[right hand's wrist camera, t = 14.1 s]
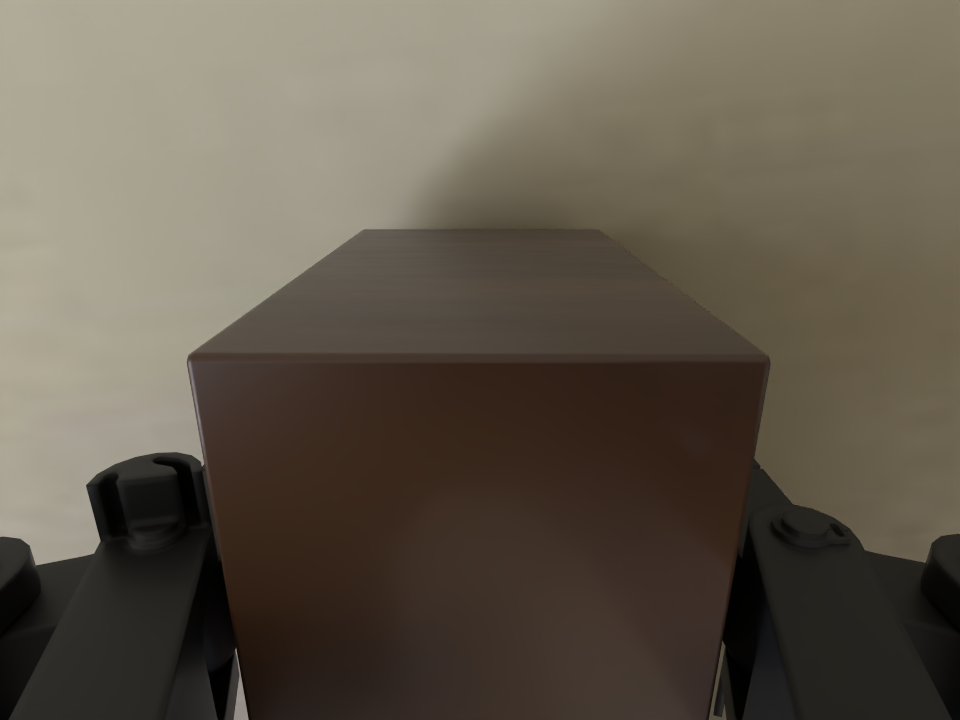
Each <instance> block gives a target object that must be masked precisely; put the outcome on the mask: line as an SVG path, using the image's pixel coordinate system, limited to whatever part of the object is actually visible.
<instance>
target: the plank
mask: <svg viewBox="0 0 960 720" xmlns="http://www.w3.org/2000/svg"><path fill="white" fill-rule="evenodd" d="M187 366H188V372H189V378H190V384H191V389H192V395H193V401H194V407H195V412H196V418H197V424H198V430H199V436H200V441H201V447H202V453H203V459H204V464H205V470H206V476H207V482H208V487H209V493H210V499H211V505H212V510H213V516H214V522H215V528H216V533H217V539H218V545H219V551H220V557H221V562H222V568H223V574H224V580H225V585H226V591H227V597H228V603H229V608H230V614H231V620H232V626H233V631H234V637H235V643H236V649H237V655H238V660H239V666H240V672H241V678H242V683H243V689H244V695H245V701H246V706H247V712H248V718H249V720H709V714H710V708H711V703H712V697H713V691H714V685H715V680H716V674H717V668H718V662H719V657H720V651H721V645H722V639H723V634H724V628H725V622H726V616H727V611H728V605H729V599H730V593H731V588H732V582H733V576H734V570H735V565H736V559H737V553H738V547H739V542H740V536H741V530H742V524H743V519H744V513H745V507H746V501H747V496H748V490H749V484H750V478H751V473H752V467H753V461H754V455H755V450H756V444H757V438H758V432H759V427H760V421H761V415H762V409H763V404H764V398H765V392H766V386H767V381H768V375H769V369H770V359H769V356H768V355H766V354H765V353H764V352H762V351H761V350H759V349H758V348H757V347H755V346H754V345H753V344H751V343H750V342H749V341H747V340H746V339H745V338H743V337H742V336H741V335H739V334H738V333H737V332H735V331H734V330H733V329H731V328H730V327H729V326H727V325H726V324H725V323H723V322H722V321H721V320H719V319H718V318H717V317H715V316H714V315H713V314H711V313H710V312H709V311H707V310H706V309H705V308H703V307H702V306H700V305H699V304H698V303H696V302H695V301H694V300H692V299H691V298H690V297H688V296H687V295H686V294H684V293H683V292H682V291H680V290H679V289H678V288H676V287H675V286H674V285H672V284H671V283H670V282H668V281H667V280H666V279H664V278H663V277H662V276H660V275H659V274H658V273H656V272H655V271H654V270H652V269H651V268H650V267H648V266H647V265H645V264H644V263H643V262H641V261H640V260H639V259H637V258H636V257H635V256H633V255H632V254H631V253H629V252H628V251H627V250H625V249H624V248H623V247H621V246H620V245H619V244H617V243H616V242H615V241H613V240H612V239H611V238H609V237H608V236H607V235H605V234H604V233H603V232H601V231H599V230H371V229H365V230H362V231H361V232H359V233H358V234H357V235H355V236H354V237H352V238H351V239H350V240H348V241H347V242H345V243H344V244H343V245H341V246H340V247H339V248H337V249H336V250H334V251H333V252H332V253H330V254H329V255H327V256H326V257H325V258H323V259H322V260H320V261H319V262H318V263H316V264H315V265H313V266H312V267H311V268H309V269H308V270H306V271H305V272H304V273H302V274H301V275H299V276H298V277H297V278H295V279H294V280H292V281H291V282H290V283H288V284H287V285H285V286H284V287H283V288H281V289H280V290H278V291H277V292H276V293H274V294H273V295H271V296H270V297H269V298H267V299H266V300H264V301H263V302H262V303H260V304H259V305H257V306H256V307H255V308H253V309H252V310H250V311H249V312H248V313H246V314H245V315H244V316H242V317H241V318H239V319H238V320H237V321H235V322H234V323H232V324H231V325H230V326H228V327H227V328H225V329H224V330H223V331H221V332H220V333H218V334H217V335H216V336H214V337H213V338H211V339H210V340H209V341H207V342H206V343H204V344H203V345H202V346H200V347H199V348H197V349H196V350H195V351H193V352H192V353H190V354H189V355H188V359H187Z"/></svg>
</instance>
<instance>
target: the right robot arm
mask: <svg viewBox="0 0 960 720" xmlns="http://www.w3.org/2000/svg"><path fill="white" fill-rule="evenodd" d="M86 487H87V491H88V494H89V498H90V502H91V506H92V510H93V513H94V517H95V521H96V525H97V529H98V532H99V536H100V540H101V542H100V544H99V546H98V547H97V549H96V551H95V553H94V554H91V555H87V556H83V557H78V558H73V559H67V560H62V561H57V562H52V563H47V564H42V565H35V562H34V558H33V555H32V552H31V549H30V546H29V545H28V544H26V543H25V542H24V541H22V540H21V539H17V538H10V537H0V720H233V719H234V711H235V704H236V696H237V688H238V681H239V670H238V662H237V657H236V651H235V649H236V643H235V637H234V631H233V626H232V620H231V614H230V608H229V603H228V597H227V591H226V585H225V580H224V574H223V568H222V562H221V557H220V551H219V545H218V539H217V533H216V528H215V522H214V516H213V510H212V505H211V499H210V493H209V487H208V482H207V476H206V470H205V464H204V465H203V466H201V462H200V461H199V460H197V459H196V458H195V457H193V456H192V455H187V454H182V453H177V452H173V453H154V454H149V455H144V456H139V457H135V458H132V459H129V460H126V461H123V462H120V463H118V464H115V465H113V466H111V467H109V468H108V469H106V470H104V471H102V472H100V473H99V474H97V475H96V476H95V477H94V478H93V479H92V480H91V481H90V482H89V483H88V484H87V485H86ZM722 640H723V642H724V644H725V651H724V657H723V662H722V668H721V673H720V679H719V684H718V690H717V695H716V700H715V707H714V714H713V715H714V716H719V717H722V713H723V708H724V704H725V710H726V717H727V720H960V534H954V535H946V536H941V537H939V538H938V539H937V540H935V541H934V542H933V543H932V545H931V548H930V551H929V554H928V558H927V561H926V563H923V562H918V561H913V560H907V559H902V558H897V557H892V556H887V555H882V554H876V553H873V552H869V551H865V550H864V548H863V546H862V544H861V543H860V541H859V539H858V538H857V537H856V536H855V535H854V533H853V532H852V531H851V530H850V529H849V528H848V527H847V526H845V525H844V524H842V523H841V522H839V521H838V520H836V519H835V518H833V517H831V516H829V515H826V514H824V513H821V512H819V511H816V510H814V509H811V508H806V507H802V506H798V505H793V504H792V503H791V502H790V500H789V499H788V498H787V497H786V496H785V495H784V493H783V492H782V491H781V490H780V489H779V488H778V486H777V485H776V484H775V483H774V482H773V480H772V479H771V478H770V477H769V476H768V475H767V473H766V472H765V471H764V470H763V469H760V465H759V464H758V463H757V462H756V460H755V459H754V461H753V467H752V473H751V478H750V484H749V490H748V496H747V501H746V507H745V513H744V519H743V524H742V530H741V536H740V542H739V547H738V553H737V559H736V565H735V570H734V576H733V582H732V588H731V593H730V599H729V605H728V611H727V616H726V622H725V628H724V634H723V639H722Z"/></svg>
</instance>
